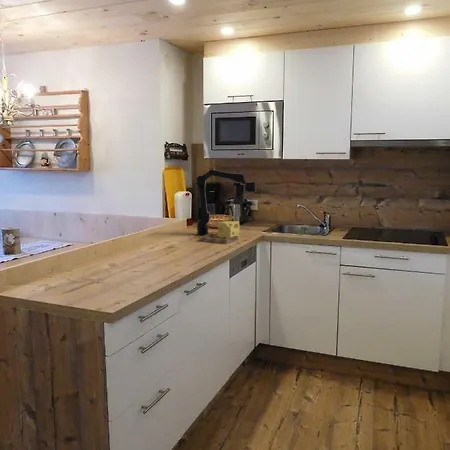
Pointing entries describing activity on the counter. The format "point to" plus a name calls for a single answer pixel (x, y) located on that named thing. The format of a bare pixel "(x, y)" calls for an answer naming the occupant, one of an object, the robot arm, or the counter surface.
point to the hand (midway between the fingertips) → (239, 215)
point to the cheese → (228, 229)
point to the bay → (217, 239)
